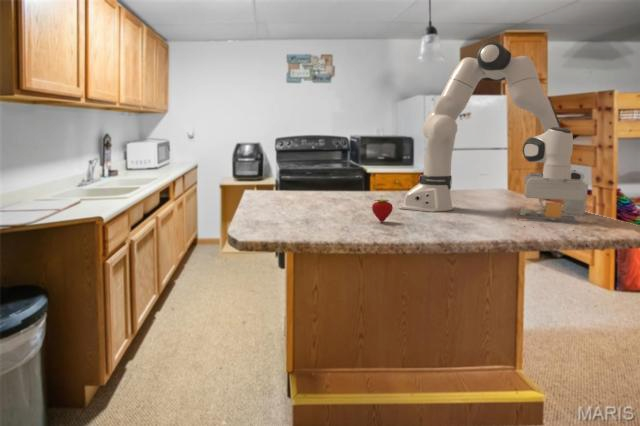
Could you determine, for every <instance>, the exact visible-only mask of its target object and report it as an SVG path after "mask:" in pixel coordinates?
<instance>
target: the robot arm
mask: <svg viewBox="0 0 640 426" xmlns="http://www.w3.org/2000/svg"><path fill="white" fill-rule="evenodd" d="M476 57H477V58H474V57H469V56H468V57H464V58H462V59H460V61H459V63H458V64H457V65H456V66H455V68H454V70H453V72H452V73H451V75H450V77H449V79H448V81H447V82H446V85H445V87H444V88H443V91H442V92H441V95H440V96H439V98H438V99H437V101H436V103H435V104H434V106H433V107H432V109H431V111H430V112H429V114H428V116H427V117H426V120H425V121H424V122H423V125H422V132H423V135H424V136H425V138H426V139H427V143H426V147H425V154H424V158H423V159H424V160H423V161H424V163H423V174H420V175H419V176H418V183H417V184H416V185H414V186H413V187H412V188H411V189H410V190H408V191H407V192H406V193H405V197H404V200H403V202H401V203H399V204H398V208H399V209H401V210H411V211H421V212H432V213H436V212H448V211H451V210H453V209H454V207H453V203H452V196H451V195H452V194H451V189H452V184H453V179H452V178H453V177H452V160H453V159H452V157H453V151H454V146H455V140H456V134H457V132H458V124H457V122H456V121H457V119H458V118H459V116H460V115H461V114H462V112H463V111H464V110H465V109H466V107H467V105H468V103H469V101H470V99H471V97H472V95H473V93H474V91H475V89H476V88H477V85H478V84H479V82H480V81H481V80H483V81H486V82H487V81H488V82H490V81H491V82H502V81H506V83H507V88H508V92H509V96H510V99H511V101H512V103H513V104H514V105H515V106H516V107H517V108H519V109H522V110H525V111H527V112H529V113H531V114H532V115H534V116H535V117H536V118H537V119H538V120H539V121H540V125H541V128H542V130H543V133H541V134H539V135H536V136H533V137H532V136H531V137H529V138H527V139H526V141H524V143H523V146H522V155H523V157H524V159H525V160H526V161H527V162H530V163H543V168H542V172H529V173H527V174H525V176H524V180H523V181H524V184H525V186H524V187H525V188H524V197H525V198H526V199H538V202H539V204H540V208H541V209H540V210H541V211H540V212H545V211H546V206H545V205H544V204H543V202H544V200H559V201H560V200H561V201H563V200H565V203H566V204H565V205H564V206H563V205H562V211H561V213H562V212H565V209H566V207H567V206H568V205H569V203H570V200H575V201H584V200H585V199H586V196H587V197H588V190H586V184H585V183H586V182H585V181H584V179H585V174H584V173H582V172H580V171H577V170H574V169H572V168H571V167H572V162H571V158H572V155H573V148H574V146H573V145H574V136H573V132H572V131H571V130H570V129H568V128H564V127H562V125H561V123H560V120H559V118H558V115H557V113H556V110H555V108H554V105H553V103H552V102H551V101H552V100H550V99H549V98H548V96H547V95H546V92H544V89H543V87H542V84H541V82H540V79H539V75H538V71H537V69H536V66H535V64H534V62H533V60H532V58H530V57H529V56H526V55H520V56H519V55H518V56H515V57H512V53H511V52H510V51H509V50H508V49H507V48H506V47H505V46H503V44H501V43H499V42H497V41H489V42H486V43H485V44H483V45H482V46H480V48H479V50H478V51H477V56H476Z"/></svg>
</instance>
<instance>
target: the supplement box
mask: <svg viewBox="0 0 640 426" xmlns="http://www.w3.org/2000/svg"><path fill="white" fill-rule="evenodd" d="M585 184H586V190H587V191H588V189H589V183H587V182H585ZM587 197H588V195H587V196H586V199H585V200H584V201H575V200H570V203H569V205H568V206H567V207H566V209H565V212H561V214H569V215H579V216H583V215H584V214H586V207H587V199H588V198H587ZM565 204H566V203H565V200H562V207H563V206H564V205H565Z"/></svg>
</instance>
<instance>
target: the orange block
mask: <svg viewBox="0 0 640 426" xmlns="http://www.w3.org/2000/svg"><path fill="white" fill-rule="evenodd" d="M544 206H546V211H544V215H545V216H546V217H561V216H562V212H561V211H562V207H563V203H561V202H549V201H548V202H547V201H546V202H545V205H544Z"/></svg>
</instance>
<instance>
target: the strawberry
mask: <svg viewBox="0 0 640 426" xmlns="http://www.w3.org/2000/svg"><path fill="white" fill-rule="evenodd" d="M382 197H383V195H381V196H380V199H374V201H376V202H373V204H372V206H371V210H372V212H373V214H374V216H375V217H376V218H377V219H378V221H379V222H380V223H384V222H385V220H386V219H387V218H388V217H389V216H390V215H391V213H392V212H393V204H392V203H391V202H389V201H390V200H389V199H383V198H382Z"/></svg>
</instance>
